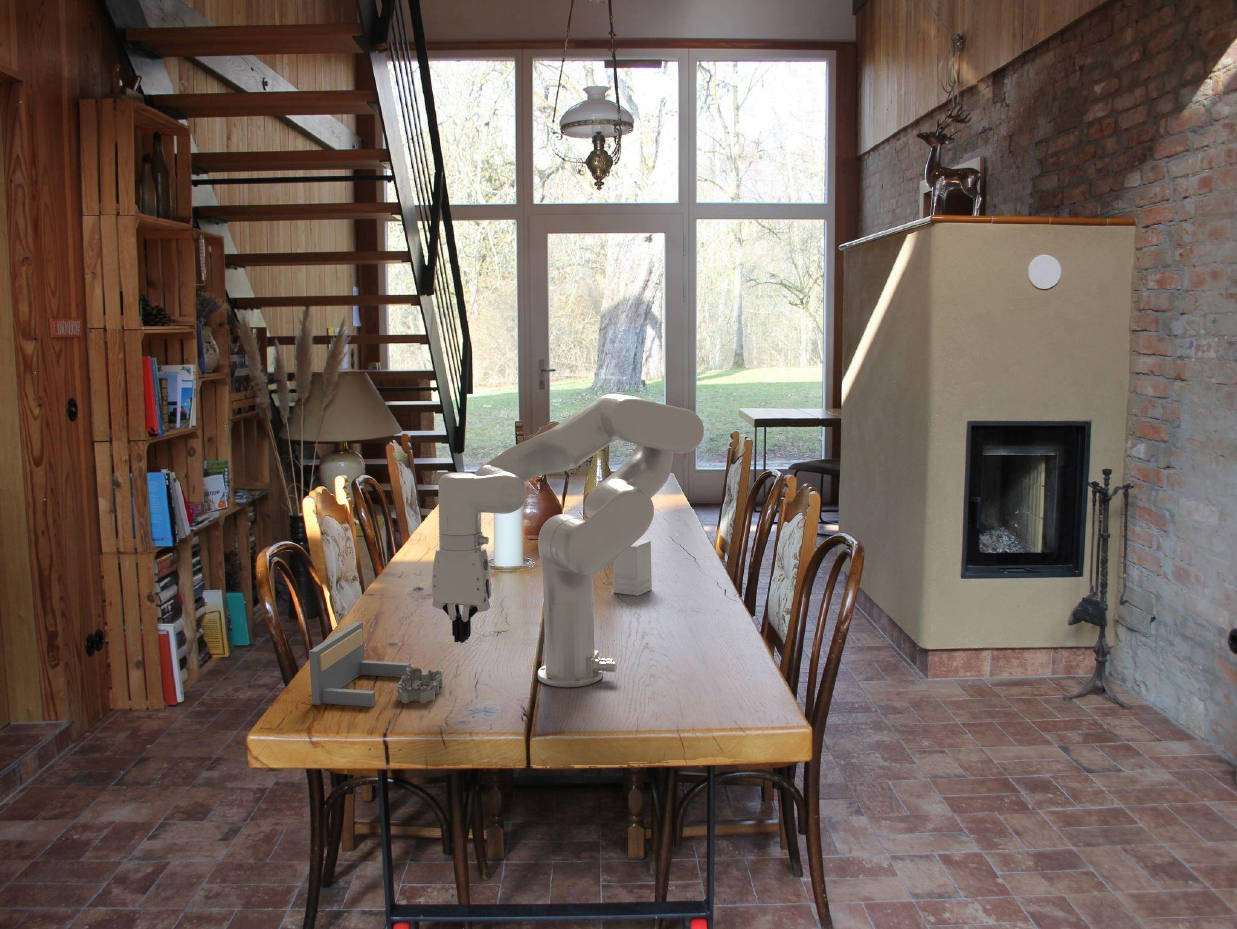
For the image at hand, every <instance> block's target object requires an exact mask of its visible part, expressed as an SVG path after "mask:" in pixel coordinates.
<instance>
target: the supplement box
mask: <svg viewBox="0 0 1237 929" xmlns="http://www.w3.org/2000/svg"><path fill="white" fill-rule="evenodd" d="M652 577H653V576H652V541H651V540H643V539H638V540H637V541H636V542H635V543H634V544H633V545H631V546H630V547H629V548H628V549H627V550H626V551H624V552H623V553H622V554H621V555H620V556H618V557H617V558H616V559H615V560H614V561H613V562H612V579H613V581H612V584H613V593H616V594H622V595H628V596H637V597H639V596H641V595H643V594H645V593H647V592H649V591H652V590H653V583H652V582H653V580H652Z"/></svg>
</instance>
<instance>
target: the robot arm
mask: <svg viewBox="0 0 1237 929" xmlns="http://www.w3.org/2000/svg"><path fill="white" fill-rule="evenodd" d="M704 433H705V427H704V423H703V421H702V419H701V418H700V416H699V415H698V414H697V413H696V412H694V411H693V410H691V409H688V408H683V407H679V406H674V405H669V404H665V403H660V402H656V401H653V400H652V401H651V400H647V399H644V398H640V397H638V396H631V395H627V394H626V395H625V394H620V393H607V394H604V395H602V396H600V397H598V398H596V399H594V400H593V401H592V402H590V403H588V404H587V405H585V406H584V407H582V408H580V409H579V410H578V411H576V412H575V413H573V414H572V415H570V416H569V417H567V418H566V419H564V420H562V421H561V422H559V423H558V424H557V425H555V426H554V427H552V428H551V429H548V430H547V431H544V432H542V433H539V434H537V435H535V436H532V437H531V438H529V439H527V440H525V441H521V442H519V443H517V444H516V445H513V446H511V447H509V448H508V449H506V450H504V451H502V452H501V453H498V455H495V457H494V458H491V459H490V460H489V461H487V462H486V463H484V464H483V465H481V466H480V467H479V468H477V470H476V471H475V472H474V473H471V472H448V473H445V474H443V475H441V476H440V478H439V480H438V485H437V486H438V488H437V492H438V494H437V495H438V541H439V542H438V545H439V546H438V547H437V548H436V550H435V554H434V560H433V565H432V574H431V575H432V576H431V596H432V599H433V600H432V607H434V608H436V609H439V610H442V611H444V613H446V615H447V616H448V617H449V620H450V621H451V630H452V631H451V632H452V633H451V634H452V637H453V638H454V643H460V644H461V643H462V644H463V643H465V642H466V641H468V639H469V638H470V636H471V634H472V624H471V623H472V618H473V617H474V616H475V615H476V614H478V613H482V612H483V613H484V612H487V611H488V610H490V608H491V604H490V601H489V600H490V599H491V598H492V578H491V569H490V568H491V567H490V563H489V555H488V552H487V548H485V547H483V546H484V545H488V544H489V541H490V539H489V537H488V536H485V535H484V534H483V531H482V514H483V513H485V514H486V513H487V514H499V515H500V514H501V515H505V514H511V513H514V512H516V511H519V510H520V509H521V508H522V507H523V505H524V504H525V503H526V501H527V498H528V490H527V486H526V483H527V482H529V481H531V480H533V479H535V478H538V477H540V476H545V475H547V474H554V473H561V472H565V471H569V470H572V469H575V468H577V467H579V466H580V465H581V464H583V463H584V462H586V461H588V459H590V458H592V457H593V456H594V455H596V454H597V453H598V452H601V451H602V450H603V449H605V448H606V447H608V446H609V445H610V444H613V443H614V442H615V441H621V442H626V443H629V444H634V445H636V446H635V449H634V451H633V453H632V455H631V456H630V458H629V459H627V461H625V462H624V463H623V464H622V465H621V466H620V467H619V468H617V469H616V470H615V471H614V472H612V473H611V474H610V475H609V476H607V477H606V478H605V479H604V480H603V481H601V482H600V483H599V484H597V485H596V486H595V487H593V489H592V490H591V491H590V492H589V493H588V494H587V496H586V498H585V501H584V513H585V515H586V516H587V519H586V520H585V519H584V518H580V517H578V516H575V515H573V514H568V513H561V514H556V515H553V516H551V517H549V518H548V519H547V520H546V521H545V522H544V523H543V525H541V528H540V530H539V534H538V538H537V539H538V540H537V547H538V556H539V561H540V566H541V574H542V588H543V590H542V591H543V623H544V624H543V626H544V655H545V658H544V659H545V662H544V663H545V665H543V666H541V667H540V668H539V669H538V670H537V679H538V680H539V681H540V682H541V683H543V684H545V685H548V686H551V687H556V688H579V687H584V686H588V685H592V684H595V683H597V682H599V681H600V680H601V679H602V678H603V676H604V672H606V673H616V672H617V667H618V666H617V662H615V661H614V659H613V658H602V657H601V656H600V652H599V650H596V649H595V615H594V614H595V610H594V609H595V608H594V605H595V604H594V582H593V581H594V580H593V575H594V574H596V573H599V572H601V571H602V570H603V569H606V567H608V566H610V564H612V563H613V561H614V560H615V559H616V558H617V557H618V556H620V555H621V554H622V553H623V552H624V551H626V550H627V549H628V548H629V547H630V546H631V545H633V544H634V543H635V542H636V541H637V540H640V538H642V537H643V536H644V535H645V534H646V532H648V529H649V528H650V526H651V524H652V522H653V520H654V515H655V507H654V503H653V500H652V498H653V497H654V496H655V495H656V494H658V492H659V491H660V490H661V489H662V488H663V487H664V486H665V484H666V483H667V481H668V480H669V477H670V474H671V472H672V467H673V461H674V453H676V454H687V453H690V452H693V451H694V450H696V449H697V448H698V447H699V445H701V442H702V441H703V439H704V435H705V434H704ZM461 606H462V610H461Z"/></svg>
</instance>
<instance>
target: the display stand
mask: <svg viewBox="0 0 1237 929" xmlns="http://www.w3.org/2000/svg"><path fill="white" fill-rule="evenodd" d="M364 640H365V639H364V624H363V621H354V622H353V623H352V624H350V625H348V626H347V627H345V628H344V629H342V630H340V631H339V632H337V633H336V634H334V635H332V636H331V637H329V638H328V639H326V640H324V641H323V642H321V643H320V644H317V646H315V647H313V648H312V649H310V650H309V651H308V657H309V658H308V659H309V672H310V688H311V690H310V691H311V704H312V705H315V706H319V705H322V704H326V705H327V704H328V705H343V706H355V707H357V706H358V707H367V708H368V707H369V708H370V707H371V708H373V707H374V706H376V704H377V702H376V691H375V690H362V689H351V688H350V689H347V688H344V687H346V686H347V685H349V684H350V683H351V682H353V681H354V680H356V678H358V677H359V676H361V675H362V676H378V677H379V676H380V677H391V678H392V677H393V678H394V677H395V678H401V677H403V675H404V672H405V669H406V668H407V666H409V665H410V664H411V663H409V662H400V661H398V662H397V661H383V660H382V661H381V660H380V661H379V660H377V661H376V660H366V659H365V645H364V644H365V643H364Z"/></svg>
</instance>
